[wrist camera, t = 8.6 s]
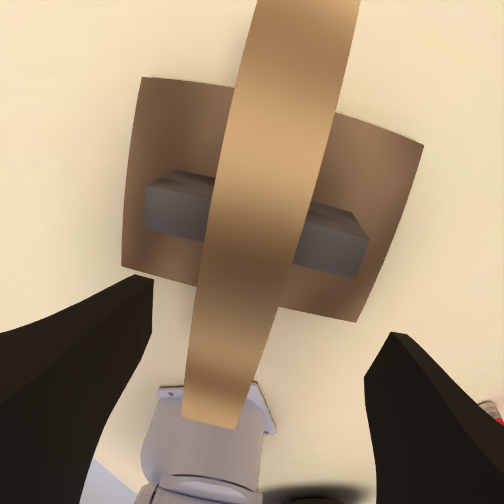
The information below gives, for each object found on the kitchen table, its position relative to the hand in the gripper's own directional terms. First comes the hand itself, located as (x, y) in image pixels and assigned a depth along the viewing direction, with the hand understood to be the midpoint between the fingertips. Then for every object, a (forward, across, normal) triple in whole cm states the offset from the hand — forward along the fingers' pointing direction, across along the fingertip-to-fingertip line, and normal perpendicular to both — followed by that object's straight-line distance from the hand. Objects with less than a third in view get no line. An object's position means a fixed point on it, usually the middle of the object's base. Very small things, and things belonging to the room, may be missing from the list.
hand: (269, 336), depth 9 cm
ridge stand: (+10, +1, -1) cm, 10 cm away
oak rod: (+5, +1, -1) cm, 6 cm away
